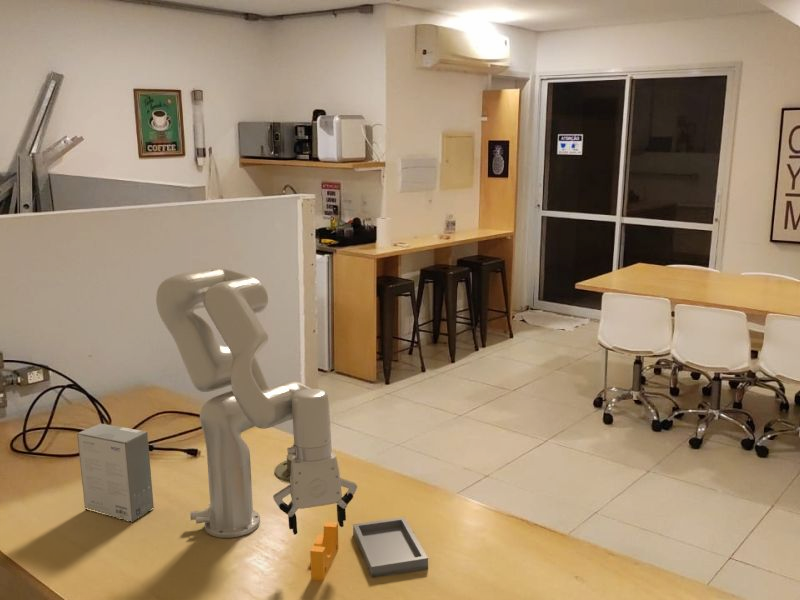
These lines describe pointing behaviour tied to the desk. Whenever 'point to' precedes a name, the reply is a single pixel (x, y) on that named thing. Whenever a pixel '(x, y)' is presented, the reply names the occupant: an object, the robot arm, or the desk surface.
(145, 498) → the hard drive box
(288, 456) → the flange
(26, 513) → the desk surface
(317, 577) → the orange blocky piece
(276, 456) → the desk surface
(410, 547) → the parts tray
